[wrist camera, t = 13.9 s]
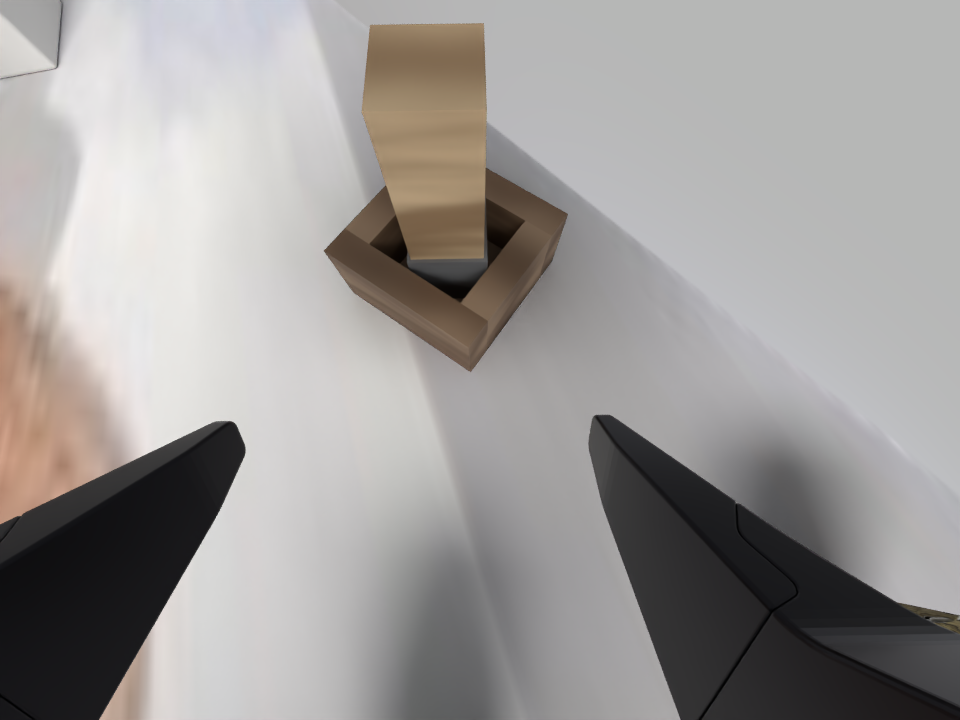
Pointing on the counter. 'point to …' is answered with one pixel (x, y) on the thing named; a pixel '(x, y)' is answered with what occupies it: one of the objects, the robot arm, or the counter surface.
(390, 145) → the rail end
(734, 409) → the counter surface
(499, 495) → the counter surface
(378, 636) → the counter surface
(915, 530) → the counter surface
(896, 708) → the robot arm
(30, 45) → the tall white carton
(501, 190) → the post slot block
